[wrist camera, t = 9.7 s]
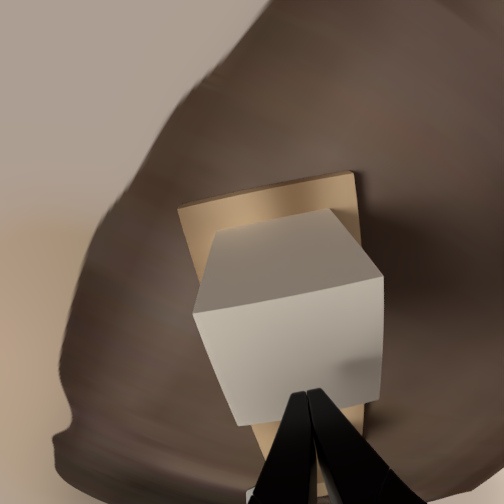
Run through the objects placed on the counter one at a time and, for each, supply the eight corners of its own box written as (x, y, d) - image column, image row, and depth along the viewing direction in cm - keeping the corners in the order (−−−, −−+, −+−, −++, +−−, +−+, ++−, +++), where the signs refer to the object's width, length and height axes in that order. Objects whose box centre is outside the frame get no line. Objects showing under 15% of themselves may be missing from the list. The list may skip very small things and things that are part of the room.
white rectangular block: (339, 304, 16) (378, 399, 10) (241, 323, 17) (237, 426, 10) (329, 208, 14) (383, 276, 8) (215, 230, 15) (192, 313, 8)
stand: (348, 170, 14) (401, 201, 9) (359, 440, 23) (373, 495, 17) (180, 204, 15) (143, 253, 10) (267, 457, 23) (269, 514, 18)
